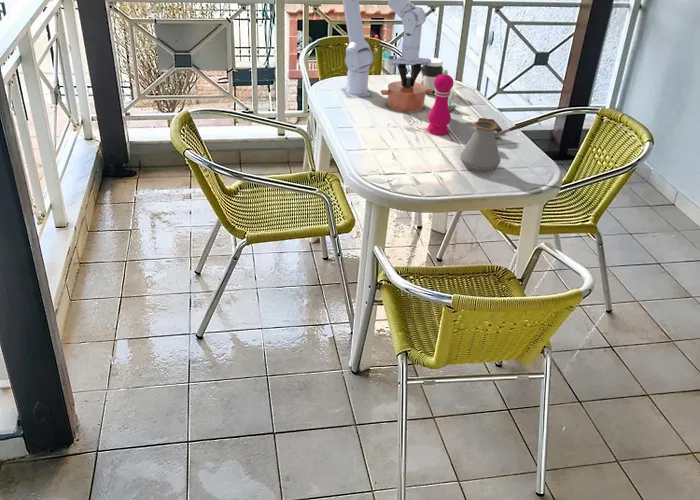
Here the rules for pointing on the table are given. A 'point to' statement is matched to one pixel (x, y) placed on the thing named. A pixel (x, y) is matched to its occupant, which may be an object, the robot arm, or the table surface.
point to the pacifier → (451, 101)
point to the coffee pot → (485, 146)
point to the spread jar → (431, 73)
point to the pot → (405, 100)
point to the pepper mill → (441, 105)
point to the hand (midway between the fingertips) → (407, 85)
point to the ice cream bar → (494, 123)
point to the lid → (407, 87)
